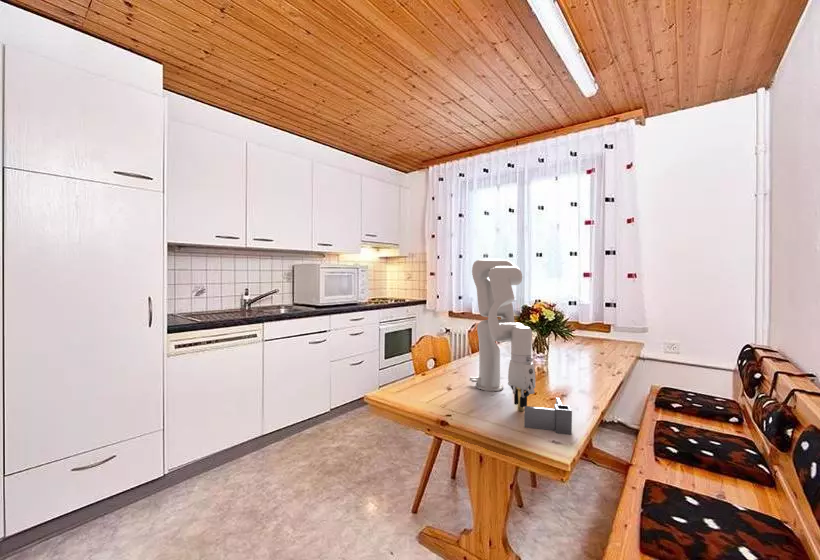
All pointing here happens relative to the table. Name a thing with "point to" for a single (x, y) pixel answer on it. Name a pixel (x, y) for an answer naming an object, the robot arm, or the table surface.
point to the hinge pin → (519, 400)
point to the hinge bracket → (549, 418)
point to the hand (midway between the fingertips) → (520, 404)
